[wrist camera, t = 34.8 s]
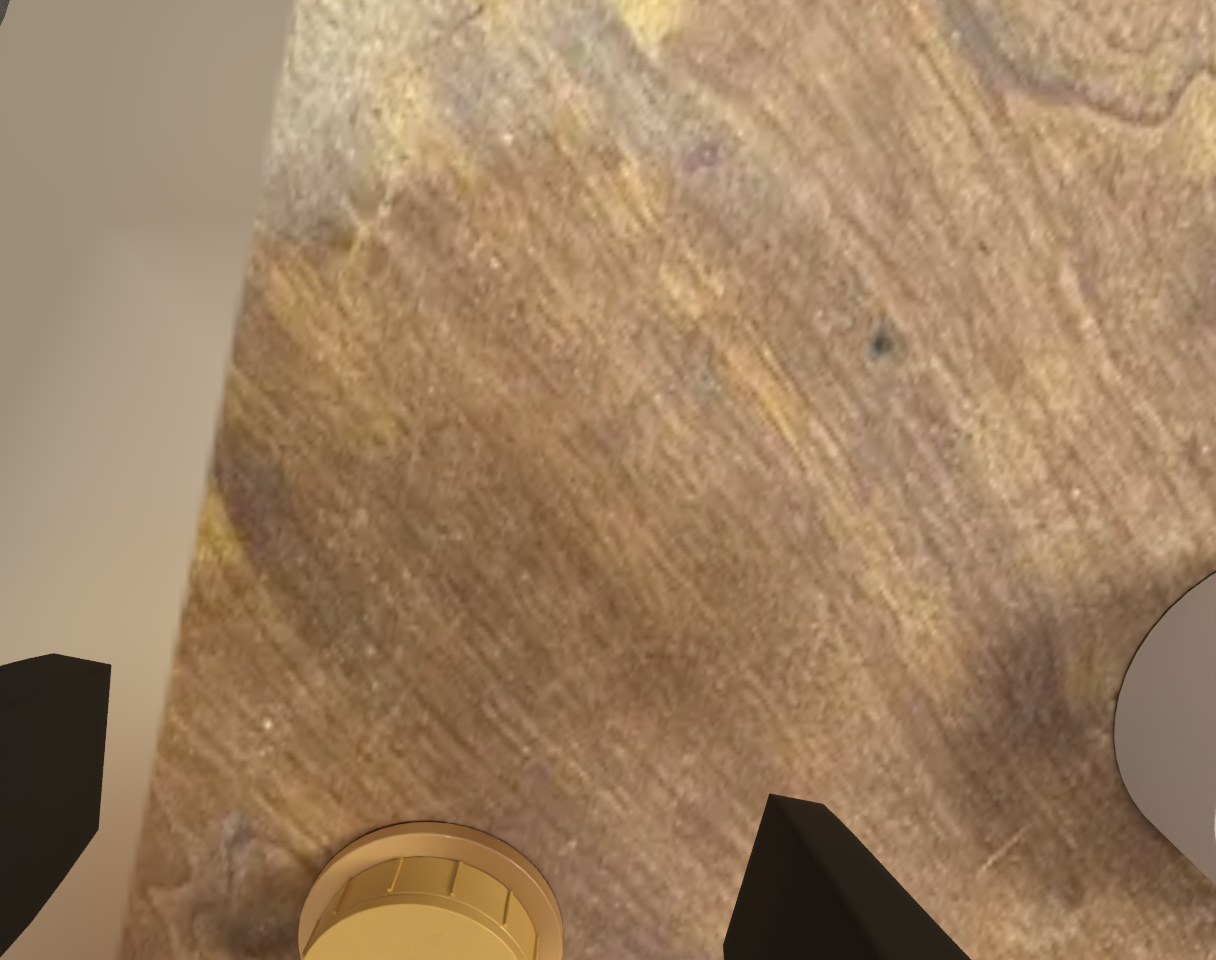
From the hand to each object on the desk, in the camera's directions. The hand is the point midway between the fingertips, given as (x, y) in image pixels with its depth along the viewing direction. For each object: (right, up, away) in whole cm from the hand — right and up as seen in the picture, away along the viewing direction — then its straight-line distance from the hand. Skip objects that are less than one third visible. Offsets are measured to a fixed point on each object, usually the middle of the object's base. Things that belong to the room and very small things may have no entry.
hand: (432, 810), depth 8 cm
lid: (-3, -9, +11) cm, 15 cm away
